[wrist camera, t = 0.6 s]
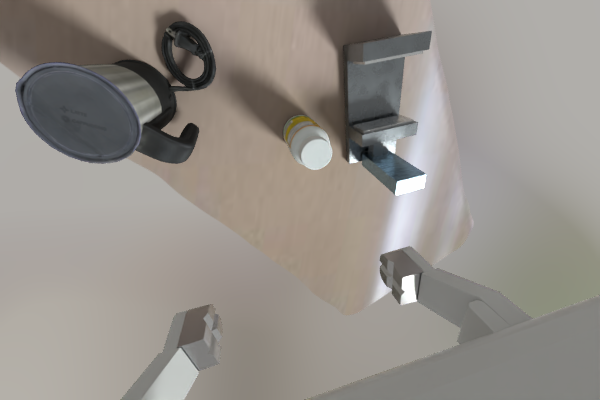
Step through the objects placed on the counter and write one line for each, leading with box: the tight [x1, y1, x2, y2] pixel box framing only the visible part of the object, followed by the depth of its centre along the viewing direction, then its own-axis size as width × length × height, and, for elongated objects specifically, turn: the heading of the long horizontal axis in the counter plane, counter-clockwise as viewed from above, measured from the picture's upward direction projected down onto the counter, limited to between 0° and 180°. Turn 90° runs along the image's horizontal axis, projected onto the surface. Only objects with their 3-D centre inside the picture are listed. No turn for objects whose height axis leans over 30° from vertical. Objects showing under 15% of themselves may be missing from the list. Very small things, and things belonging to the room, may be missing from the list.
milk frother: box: [15, 21, 216, 164], centre depth 26 cm, size 14×16×15 cm
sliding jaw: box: [349, 115, 427, 195], centre depth 38 cm, size 9×10×12 cm
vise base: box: [343, 31, 432, 163], centre depth 38 cm, size 20×10×7 cm, turn 8°
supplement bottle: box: [283, 115, 332, 170], centre depth 36 cm, size 6×6×11 cm
